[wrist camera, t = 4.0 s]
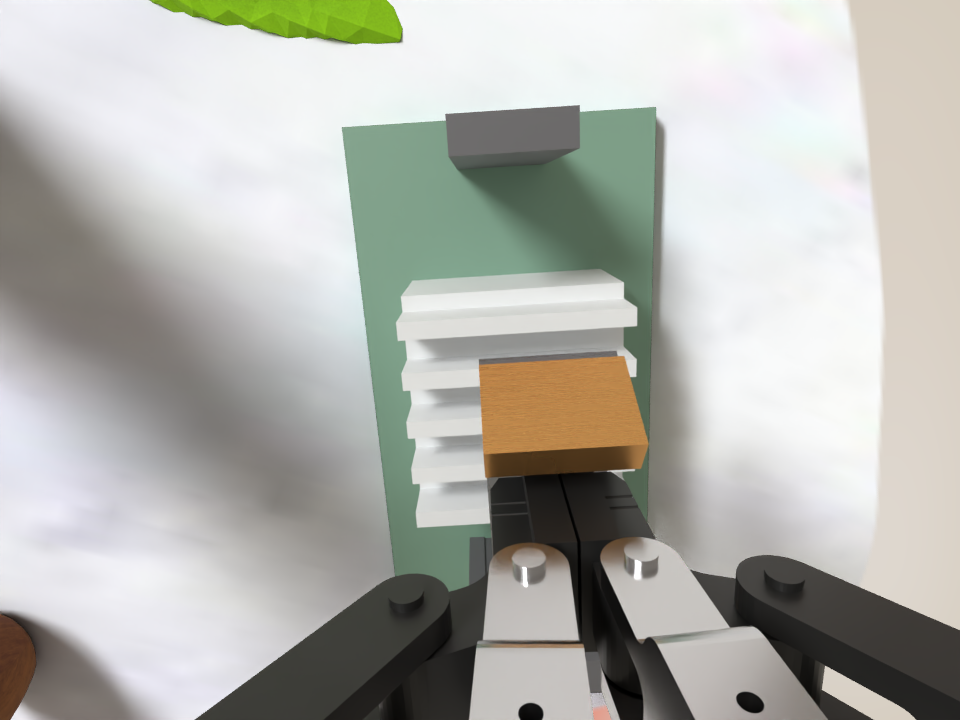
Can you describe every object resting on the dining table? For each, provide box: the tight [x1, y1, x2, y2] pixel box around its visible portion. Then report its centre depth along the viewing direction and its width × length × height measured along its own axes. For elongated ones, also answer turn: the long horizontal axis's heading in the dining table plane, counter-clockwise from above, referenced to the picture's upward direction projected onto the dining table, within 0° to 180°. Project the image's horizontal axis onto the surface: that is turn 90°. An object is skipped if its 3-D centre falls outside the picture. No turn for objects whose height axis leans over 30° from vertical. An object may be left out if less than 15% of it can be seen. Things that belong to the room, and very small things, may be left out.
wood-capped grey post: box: [479, 351, 649, 554], centre depth 18 cm, size 19×3×2 cm
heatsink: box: [342, 105, 656, 693], centre depth 25 cm, size 14×25×10 cm, turn 3°
